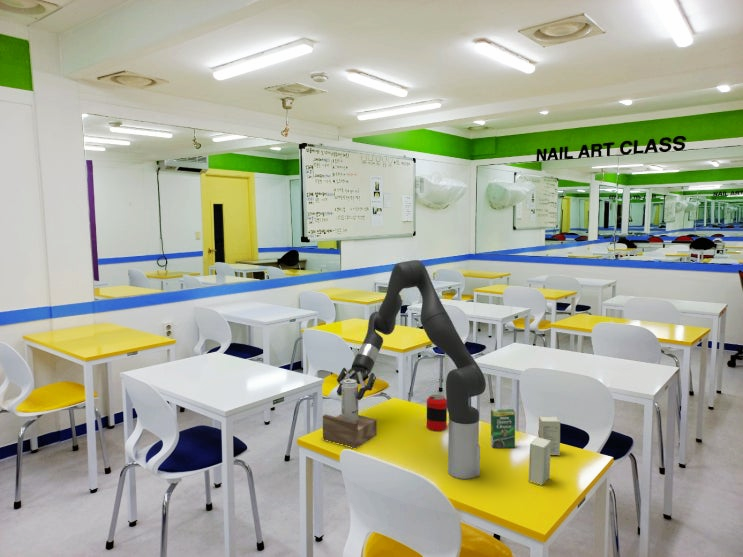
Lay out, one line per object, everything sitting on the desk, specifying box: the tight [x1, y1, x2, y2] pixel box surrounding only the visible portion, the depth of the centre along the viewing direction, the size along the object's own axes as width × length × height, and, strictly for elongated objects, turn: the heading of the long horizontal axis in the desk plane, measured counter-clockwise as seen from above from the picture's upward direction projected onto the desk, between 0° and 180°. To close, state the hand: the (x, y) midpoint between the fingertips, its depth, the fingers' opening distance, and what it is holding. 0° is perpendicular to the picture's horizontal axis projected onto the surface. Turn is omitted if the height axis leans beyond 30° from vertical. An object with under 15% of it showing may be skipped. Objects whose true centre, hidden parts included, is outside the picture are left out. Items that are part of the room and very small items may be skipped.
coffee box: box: [490, 408, 516, 449], centre depth 178 cm, size 8×3×13 cm, turn 90°
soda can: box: [426, 394, 448, 432], centre depth 195 cm, size 8×8×12 cm
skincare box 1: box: [538, 416, 561, 455], centre depth 173 cm, size 6×4×12 cm
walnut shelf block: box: [322, 413, 378, 449], centre depth 186 cm, size 14×14×9 cm
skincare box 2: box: [528, 436, 551, 485], centre depth 155 cm, size 6×4×12 cm
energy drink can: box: [341, 378, 359, 422], centre depth 185 cm, size 6×6×15 cm
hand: (348, 396), depth 184 cm, fingers open, 8 cm apart
